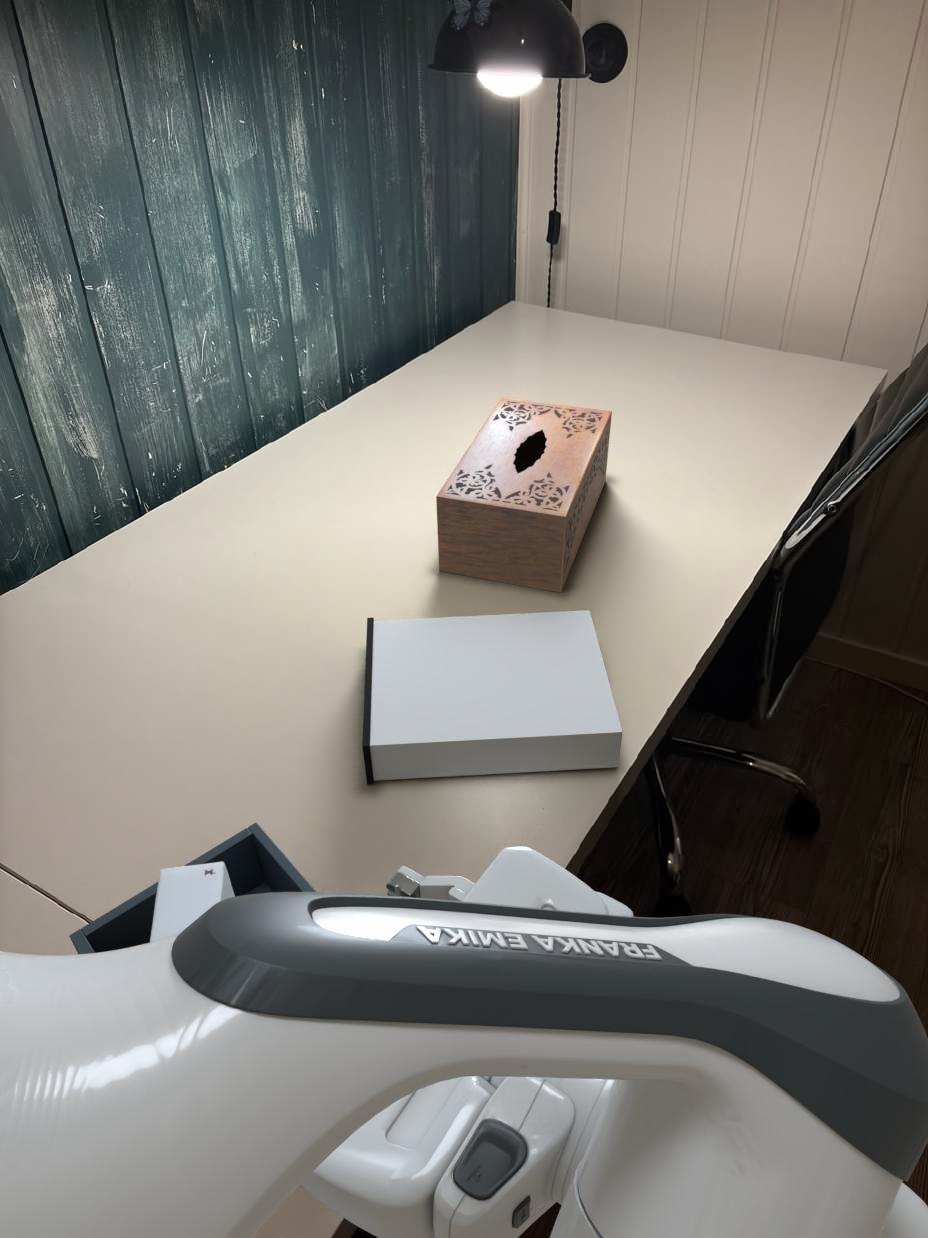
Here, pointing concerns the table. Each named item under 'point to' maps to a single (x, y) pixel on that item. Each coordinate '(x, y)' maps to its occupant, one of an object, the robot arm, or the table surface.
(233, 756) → the table surface
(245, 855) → the bin
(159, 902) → the cosmetic box
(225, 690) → the table surface
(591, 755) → the disc drive
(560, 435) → the tissue box cover
